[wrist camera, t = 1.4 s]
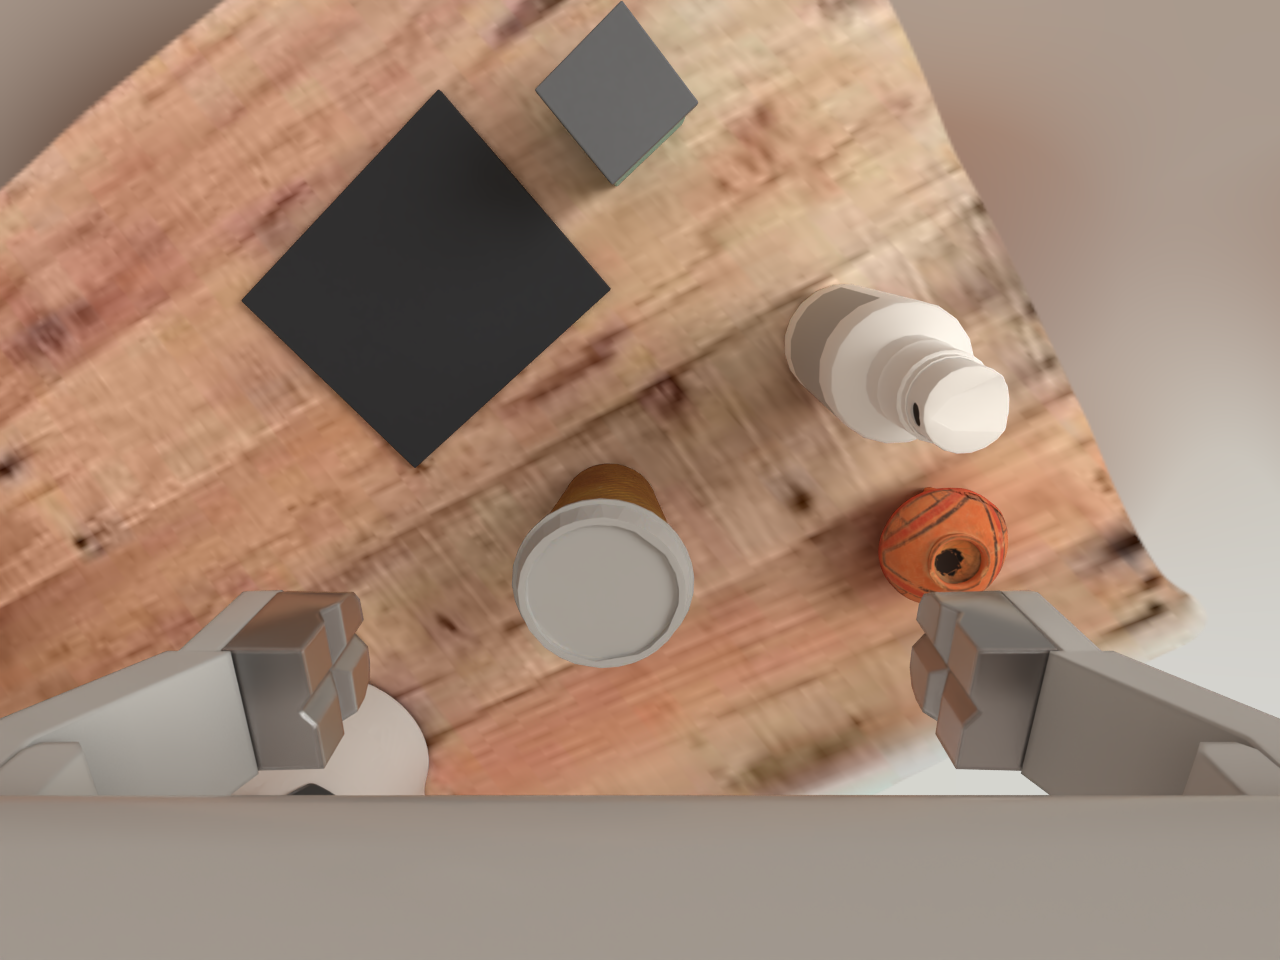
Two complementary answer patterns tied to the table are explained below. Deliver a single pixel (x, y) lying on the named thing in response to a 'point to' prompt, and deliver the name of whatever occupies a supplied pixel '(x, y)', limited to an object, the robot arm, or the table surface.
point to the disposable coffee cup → (603, 572)
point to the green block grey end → (617, 95)
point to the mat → (426, 283)
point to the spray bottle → (895, 369)
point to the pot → (943, 543)
